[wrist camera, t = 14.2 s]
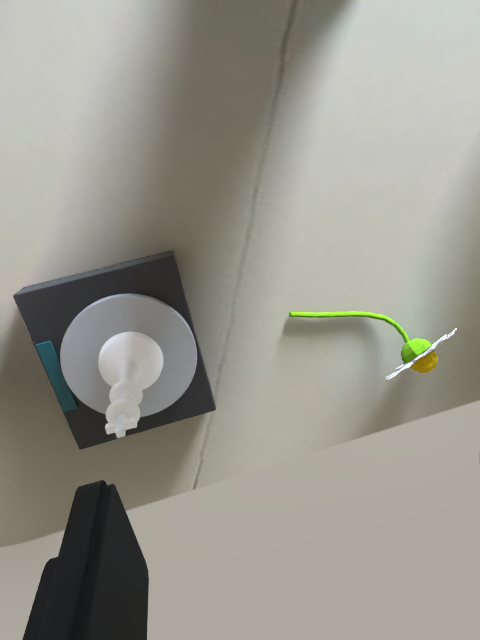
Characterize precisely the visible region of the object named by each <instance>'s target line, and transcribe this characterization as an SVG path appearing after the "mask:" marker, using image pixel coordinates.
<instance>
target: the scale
mask: <svg viewBox="0 0 480 640" xmlns="http://www.w3.org/2000/svg"><path fill="white" fill-rule="evenodd" d="M13 297H14V299H15V302H16V304H17V306H18V309H19V311H20V313H21V315H22V318H23V320H24V322H25V325H26V327H27V329H28V332H29V334H30V336H31V339H32V341H33V343H34V346H35V348H36V350H37V352H38V355H39V357H40V359H41V362H42V364H43V366H44V369H45V371H46V373H47V376H48V378H49V380H50V383H51V385H52V387H53V389H54V392H55V394H56V396H57V399H58V401H59V403H60V406H61V408H62V410H63V413H64V415H65V417H66V419H67V422H68V424H69V426H70V429H71V431H72V433H73V436H74V438H75V440H76V443H77V445H78V447H79V449H80V450H81V449H84V448H88V447H91V446H94V445H98V444H101V443H105V442H108V441H111V440H115V439H118V438H117V436H116V433H111V434H107V433H106V429H105V426H106V424H108V421H107V419H106V410H107V408H108V406H109V405H110V404H111V401H110V398H109V393H110V390H111V388H112V387H111V386H110V385H109V384H107V383H106V382H105V380H104V379H103V378H102V376H101V374H100V371H99V366H98V358H99V353H100V350H101V348H102V347H103V345H104V344H105V343H106V342H107V341H108V340H109V339H110V338H111V337H113V336H115V335H117V334H120V333H123V332H139V333H142V334H145V335H147V336H149V337H150V338H152V339H153V340H154V341H155V342H156V343H157V344H158V345H159V347H160V349H161V351H162V354H163V368H162V371H161V373H160V376H159V377H158V379H157V380H156V381H155V382H154V383H153V384H152V385H151V386H150V387H148V388H146V389H144V390H142V392H143V398H142V401H141V402H140V404H139V405H138V407H139V409H140V418H139V420H138V422H137V427H136V428H132V429H128V430H126V433H125V436H129V435H132V434H135V433H139V432H142V431H146V430H149V429H152V428H156V427H159V426H163V425H166V424H170V423H173V422H176V421H180V420H183V419H187V418H190V417H193V416H197V415H200V414H204V413H207V412H211V411H214V410H216V406H215V402H214V398H213V394H212V391H211V387H210V383H209V380H208V376H207V372H206V369H205V365H204V362H203V358H202V354H201V351H200V347H199V343H198V340H197V336H196V332H195V329H194V325H193V322H192V318H191V314H190V311H189V307H188V303H187V300H186V296H185V293H184V289H183V285H182V282H181V278H180V274H179V271H178V267H177V263H176V260H175V256H174V253H173V251H168V252H164V253H160V254H156V255H152V256H148V257H144V258H140V259H136V260H132V261H128V262H124V263H120V264H116V265H112V266H108V267H104V268H100V269H96V270H92V271H88V272H83V273H79V274H75V275H71V276H67V277H63V278H59V279H55V280H51V281H47V282H43V283H39V284H35V285H31V286H27V287H24V288H22V289H21V290H20V291H18V292H17V293H16V294H15V295H13ZM125 436H124V437H125ZM120 438H122V437H120Z"/></svg>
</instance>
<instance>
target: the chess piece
mask: <svg viewBox="0 0 480 640" xmlns="http://www.w3.org/2000/svg"><path fill="white" fill-rule="evenodd" d="M98 366H99V371H100V374H101V376H102V378H103V379H104V380H105V382H106V383H107V384H109V385H110V386H111V387H112V388H111V390H110V393H109V398H110V401H111V404H110V405H109V406H108V408H107V410H106V419H107V421H108V424H106V426H105V429H106V433H107V434H111V433H116V436H117V438H120V437H124V436H125V433H126V430H128V429H132V428H136V427H137V422H138V420H139V418H140V409H139V407H138V405H139V404H140V402H141V401H142V398H143V392H142V390H144V389H146V388H148V387H150V386H151V385H152V384H153V383H154V382H155V381H156V380H157V379H158V377H159V376H160V373H161V371H162V368H163V354H162V351H161V349H160V347H159V345H158V344H157V343H156V342H155V341H154V340H153V339H152V338H150V337H149V336H147V335H145V334H142V333H139V332H123V333H120V334H117V335H115V336H113V337H111V338H110V339H109V340H108V341H107V342H106V343H105V344H104V345H103V347H102V348H101V350H100V353H99V358H98Z"/></svg>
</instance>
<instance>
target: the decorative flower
mask: <svg viewBox="0 0 480 640" xmlns="http://www.w3.org/2000/svg"><path fill="white" fill-rule="evenodd" d="M350 316H354V317H370V318H375V319H380V320H384V321H386V322H388V323H389V324H391V325H393V326H394V327H395V328H396V329H397V330H398V332H399V333H400V334H401V335H402V337H403V339H404V341H405V343H406V344H405V345H404V346H403V349H402V352H401V356H402V360H403V361H404V363H403V365H402V366H399V367H398V368H396V369H395V370H398V371H396V372H394V373H392V374H391V375H389V376H388V377H386V378H384V380H385V379H386V380H388V379H390V378H392V377H394V376H395V375H397V374H398V373H400V372H402V371H404V370H405V369H407V368H408V367H411V368H412V369H414V370H415V371H417V372H420V373H427V372H430V371H432V370H433V369H434V368H435V367H436V365H437V362H438V359H437V355H436V353H435V351H434V349H435V347H437V346H438V345H440V344H442V343H443V342H444V341H446V340H447V339H448V338H450V337H451V336H452V335H453V334H454V333H455V332H454V331H455V330H456V329H455V330H453V331H452V332H451V333H450V334H449V335H447V336H446V334H445V335H444V336H442V337H441V338H440V339H439V340H438V341H437V342H435V343H432V344H431V343H430V342H429V341H427V340H424V339H412V340H409V338H408V336H407V334H406V332H405V331H404V330H403V329H402V328H401V327H400V326H399V325H398V324H397V322H395V321H393V320H392V319H390V318H388V317H386V316H384V315H379V314H374V313H369V312H331V313H307V312H290V317H319V318H323V317H350ZM453 332H454V333H453ZM445 336H446V337H445ZM444 337H445V338H444ZM443 338H444V339H443ZM389 377H390V378H389ZM387 378H388V379H387ZM386 380H385V381H386Z"/></svg>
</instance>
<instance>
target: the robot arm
mask: <svg viewBox="0 0 480 640" xmlns="http://www.w3.org/2000/svg"><path fill="white" fill-rule="evenodd" d="M148 585H149V578H148V569H147V565H146V561H145V559H144V556H143V554H142V551H141V549H140V546H139V544H138V542H137V539H136V536H135V534H134V531H133V529H132V526H131V524H130V521H129V519H128V516H127V514H126V511H125V509H124V506H123V504H122V501H121V499H120V496H119V494H118V491H117V489H116V487H115V485H114V484H111V485H107V484H106V482H105V481H104V480H101V481H97V482H94V483H90V484H86V485H83V486H79V487H78V488H77V490H76V492H75V496H74V500H73V503H72V507H71V511H70V515H69V518H68V522H67V526H66V529H65V533H64V537H63V541H62V544H61V548H60V552H59V555H58V557H56V558H52V559H50V560H49V561H48V562H47V563H46V565H45V567H44V570H43V573H42V576H41V580H40V583H39V586H38V590H37V593H36V596H35V600H34V603H33V606H32V610H31V613H30V616H29V620H28V623H27V627H26V630H25V634H24V637H23V640H147V615H148Z"/></svg>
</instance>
